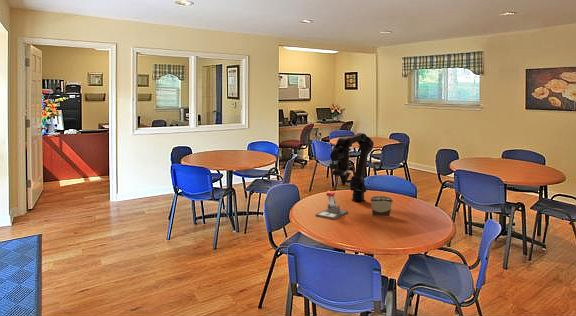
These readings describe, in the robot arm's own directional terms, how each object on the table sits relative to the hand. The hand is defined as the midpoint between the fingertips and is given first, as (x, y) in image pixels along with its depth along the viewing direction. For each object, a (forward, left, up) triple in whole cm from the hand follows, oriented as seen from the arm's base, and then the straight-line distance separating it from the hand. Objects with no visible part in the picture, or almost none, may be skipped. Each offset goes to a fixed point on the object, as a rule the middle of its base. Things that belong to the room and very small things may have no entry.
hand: (343, 185), depth 251 cm
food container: (-8, +24, -13) cm, 29 cm away
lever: (+14, +10, -10) cm, 19 cm away
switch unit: (+15, +11, -13) cm, 23 cm away
